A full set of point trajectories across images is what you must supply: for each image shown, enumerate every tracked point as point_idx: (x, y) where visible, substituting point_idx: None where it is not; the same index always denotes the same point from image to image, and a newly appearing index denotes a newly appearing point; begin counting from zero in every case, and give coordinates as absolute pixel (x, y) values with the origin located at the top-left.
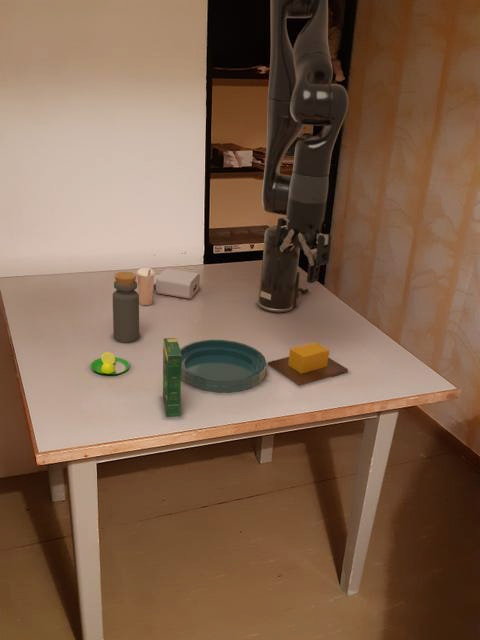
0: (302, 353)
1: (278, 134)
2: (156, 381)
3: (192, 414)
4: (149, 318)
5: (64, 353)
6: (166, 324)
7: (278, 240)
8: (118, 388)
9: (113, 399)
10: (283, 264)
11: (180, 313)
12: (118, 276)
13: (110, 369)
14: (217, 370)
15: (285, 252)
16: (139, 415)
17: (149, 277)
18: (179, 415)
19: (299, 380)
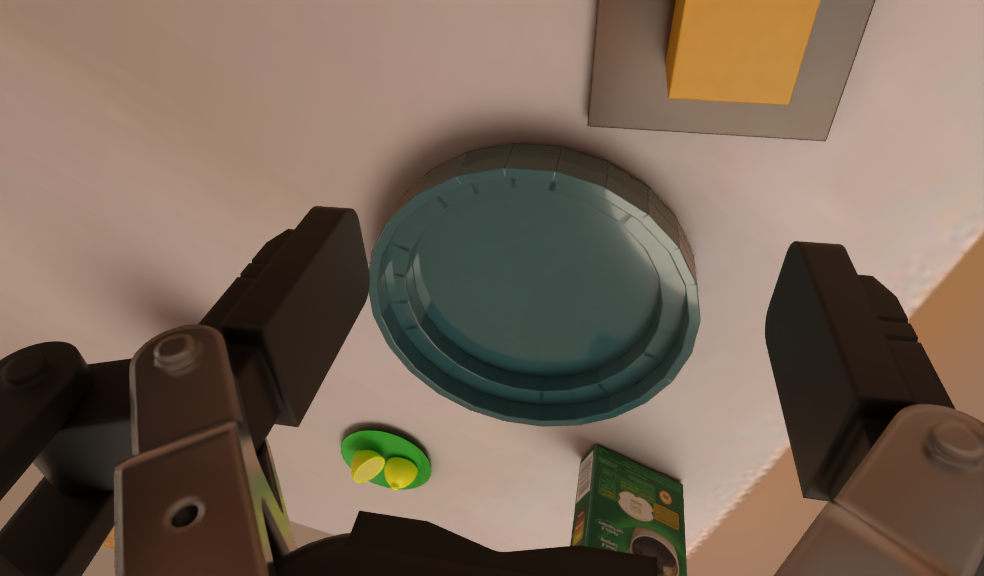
0: (754, 78)
1: None
2: (497, 427)
3: (691, 459)
4: (90, 237)
5: (287, 474)
6: (142, 220)
7: (102, 530)
8: (487, 487)
9: (526, 511)
10: (350, 324)
11: (39, 122)
12: (110, 545)
13: (413, 478)
14: (528, 295)
15: (277, 408)
16: None
17: None
18: (682, 487)
19: (807, 123)
